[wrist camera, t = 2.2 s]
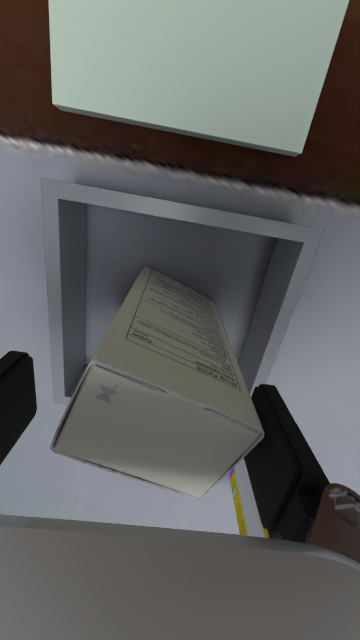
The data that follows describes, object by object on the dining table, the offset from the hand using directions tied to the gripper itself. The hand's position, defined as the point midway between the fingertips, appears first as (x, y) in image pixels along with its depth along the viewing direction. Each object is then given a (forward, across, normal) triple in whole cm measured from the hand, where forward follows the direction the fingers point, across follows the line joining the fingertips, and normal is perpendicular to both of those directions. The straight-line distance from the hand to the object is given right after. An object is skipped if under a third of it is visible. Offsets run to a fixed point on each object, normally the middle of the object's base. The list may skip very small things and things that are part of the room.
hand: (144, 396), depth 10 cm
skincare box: (+10, -1, 0) cm, 10 cm away
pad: (+9, 0, -16) cm, 19 cm away
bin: (+10, -1, 0) cm, 10 cm away
